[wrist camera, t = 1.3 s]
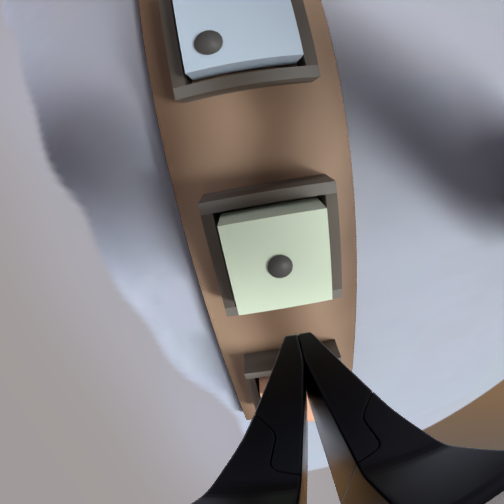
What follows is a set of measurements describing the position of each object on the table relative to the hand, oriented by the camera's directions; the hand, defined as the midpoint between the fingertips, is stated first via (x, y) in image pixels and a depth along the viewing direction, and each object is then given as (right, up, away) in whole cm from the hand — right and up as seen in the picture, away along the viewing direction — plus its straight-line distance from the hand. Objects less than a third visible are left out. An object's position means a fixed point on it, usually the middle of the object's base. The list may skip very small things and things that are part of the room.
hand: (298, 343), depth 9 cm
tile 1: (0, +3, +7) cm, 7 cm away
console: (0, +4, +9) cm, 10 cm away
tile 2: (-2, +14, +2) cm, 14 cm away
